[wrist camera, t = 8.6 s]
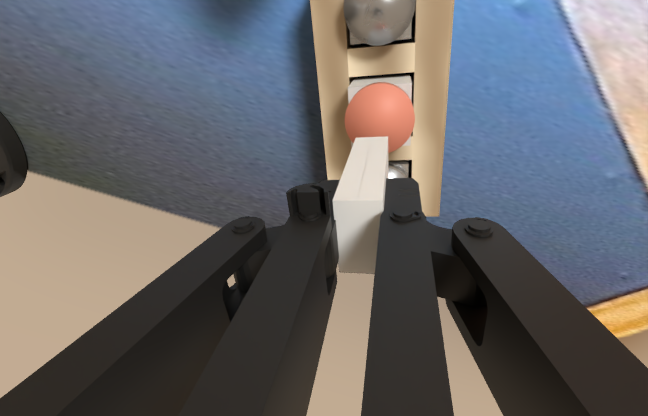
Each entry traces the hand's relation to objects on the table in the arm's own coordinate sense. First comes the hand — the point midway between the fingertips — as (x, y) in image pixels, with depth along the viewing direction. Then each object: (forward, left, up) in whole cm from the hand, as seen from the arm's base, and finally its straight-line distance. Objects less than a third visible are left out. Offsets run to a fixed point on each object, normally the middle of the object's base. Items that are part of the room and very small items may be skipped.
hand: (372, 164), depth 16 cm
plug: (0, +7, -17) cm, 19 cm away
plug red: (0, 0, -14) cm, 14 cm away
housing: (0, 0, -18) cm, 18 cm away
